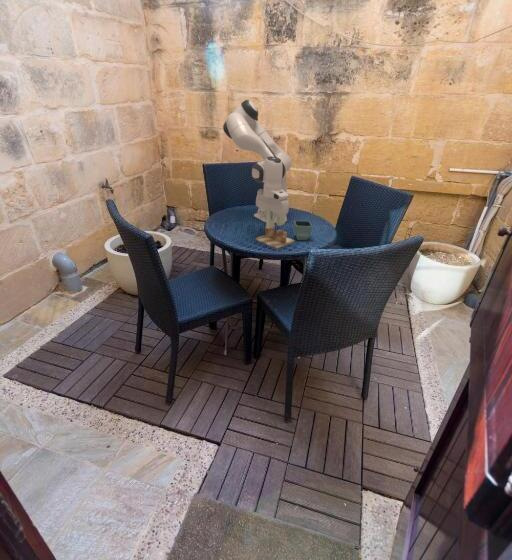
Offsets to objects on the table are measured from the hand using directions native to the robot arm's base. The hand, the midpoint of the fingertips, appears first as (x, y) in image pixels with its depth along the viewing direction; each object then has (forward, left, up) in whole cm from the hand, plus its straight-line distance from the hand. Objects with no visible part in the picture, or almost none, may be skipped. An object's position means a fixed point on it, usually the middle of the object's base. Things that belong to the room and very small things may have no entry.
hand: (270, 219), depth 164 cm
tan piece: (0, +4, -13) cm, 14 cm away
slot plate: (0, +4, -5) cm, 6 cm away
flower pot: (+7, +18, -14) cm, 24 cm away
